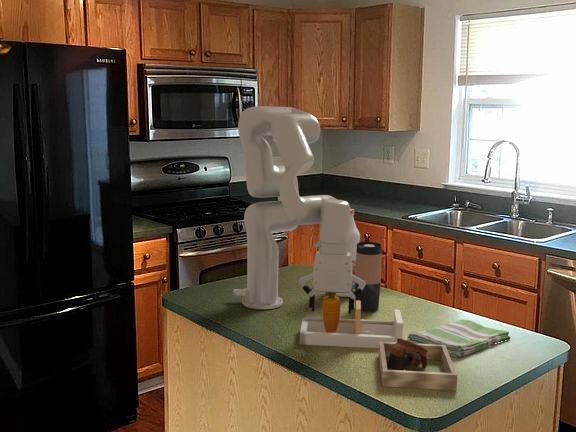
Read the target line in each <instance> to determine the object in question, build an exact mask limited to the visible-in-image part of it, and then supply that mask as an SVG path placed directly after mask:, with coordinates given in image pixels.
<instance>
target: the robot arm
mask: <svg viewBox="0 0 576 432" xmlns="http://www.w3.org/2000/svg"><path fill="white" fill-rule="evenodd" d="M237 125H238V126H237V129H238V130H237V131H238V136H239V137H238V138H239V140H240V143H241V146H242V150H243V155H244V157H243V158H244V169H245V178H246V179H245V182H246V189H247V192H248V194H249V195H250V197H253V198H260V199H261V198H273V197H274V198H275V197H277V201H275V200H274V201H271V200H270V201H260V202H255V203H252V204H250V205H248V207H246V209H245V211H244V217H243V220H244V225H245V230H246V240H247V241H246V242H247V243H246V245H247V252H246V255H247V261H246V262H247V263H246V264H247V265H246V267H247V271H246V273H247V274H246V275H247V278H246V280H247V281H246V283H247V284H246V285H247V286H246V288H243V289H240V288H233V291H232V293H233V294H232V295H233V296H235V298H242V300H241V305H242V306H244V307H246V308H249V309H253V310H271V309H277V308H279V307H281V306H283V304H284V299H283V298H282V297H280V296H279V254H280V252H279V250H280V249H279V246H278V242H277V241H276V239H275V238H274V236H273V234H275V233H282V232H289V231H290V232H291V231H294V230H296V229H297V228H298V227H299V226H307V225H318V224H319V240H318V241H316V242H313V248H316V249H317V250H318V251H316V253H315V256H314V261H313V262H314V263H313V271H312V272H311V273H308V274H306V275H304V276H302V277H300V278H299V281H298V282H299V285H301V288H302V290H303V291H304V292H305V293H306V294H307V295H308V297H309V299H308V308H311V312H312V313H313V312H315V309H316V293H317V292H318V293H319V292H320V293H325V292H334V293H348V295H349V296H350V297H348V306H347V307H348V309H347V310H348V311H347V314H349V315H350V314H352V311H353V310H355V298H356V297H357V296H358V295H359V294H360V293H361V292H362V290H363V289H364V287H365V285H366V282H365V281H364V280H362V279H360V278H358V277H356V276H355V275H353V274H352V258H351V254H350V253H349V252H348V245H349V223H350V209H351V205H350V203H349V202H348V201H347V200H343V199H337V198H335V197H333V196H331V195H329V194H321V195H319V194H318V195H306V196H303V195H302V196H300V194H299V193H300V191H299V183H298V177H297V176H299V175H300V176H301V174H303V173H305V172H306V171H308V170H309V169H310V168H311V167H313V165H314V162H315V157H314V154H313V152H312V149H311V147H310V145H309V144H314V143H315V142H317V141H318V140H319V138H320V135H321V126H320V123H319V120H318V119H317V118H316V117H315V116H314V115H313V114H312V113H308V112H306V111H303V110H300V109H299V108H295V107H291V106H271V105H269V106H268V105H267V106H264V105H263V106H261V105H259V106H258V105H257V106H251V107H248V108H246V109H244V110H243V111H242V112H241V114H240V116H239V119H238V124H237ZM264 136H272V137H273V138H272V139H273V141H274V143H275V146H276V148H277V152H278V153H279V157H280V159H281V161H282V162H281V163H282V164H281V165H280V164H277V165H275V164H274V159H273V158H274V157H273V151H272V147H271V146H270V144H269V142H268V141H267V140H266V139H265V138H264ZM311 280H312V287H311V288H310V286H309V285H308V284H307V282H308V281H311ZM352 281H354V282H356V283H358V284H359V287H358V288H357V289H356V290H355V291H353V289H352Z"/></svg>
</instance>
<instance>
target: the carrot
mask: <svg viewBox="0 0 576 432" xmlns="http://www.w3.org/2000/svg"><path fill="white" fill-rule="evenodd" d="M324 293H325V294H326V296H324V297H322V299H321V309H322V312H321V313H322V318H323V321H324V326H325V330H326V332H327V333H335V332H336V329H337V327H338V322H339V319H340V316H341V300H340V297H339V296H335V295H336V293H334V292H324Z"/></svg>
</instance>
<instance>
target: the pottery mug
mask: <svg viewBox="0 0 576 432" xmlns="http://www.w3.org/2000/svg"><path fill="white" fill-rule="evenodd" d="M397 341H398V342H397V343H395V344H394V345H393V346H392V347H391V350H390V351H391V352H390V356H389V357H388V360H387V359H386V363H387V370H403V371H417V369H418V368H419V367H420V365H421V367H422V369H423V368H424V369H427V365H428V359H427V356H426V353H427V350H426V349H424V348H423V347H421V346H419V345H417V343H416V344H415V342H412V341H410V340H406V339H403V338H402V339H398V340H397ZM404 354H407V358H404ZM421 363H422V364H421Z"/></svg>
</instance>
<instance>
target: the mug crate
mask: <svg viewBox="0 0 576 432" xmlns="http://www.w3.org/2000/svg"><path fill="white" fill-rule="evenodd" d="M395 343H396V342H379V348H378V359H379V369H380V376H381V385H382V387H387V388H388V387H389V388H391V387H392V388H407V389H421V390H422V389H423V390H424V389H425V390H442V391H443V390H444V391H457V390H458V389H457V388H458V386H457V385H458V373H457V371H456V368H455V365H454V363H453V361H452V358H451V355H449V353H448V350H447V348H446V345H435V344H417V343H415V342H414V343H415V344H417V345H419V346H421V347H423V348H424V349H426V350H427V353H426V356H427V360H433V361H434V360H437V361H440V362H441V364H442V367H443V369H444V372H437V371H436V372H435V371H422V370H421V371H420V370H419V371H417V370H416V371H405V370H404V371H403V370H387V363H386V360H387V358H389V356H390V352H391V351H390V350H391V347H392V346H393V345H394V344H395ZM404 358H407V354H404Z"/></svg>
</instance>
